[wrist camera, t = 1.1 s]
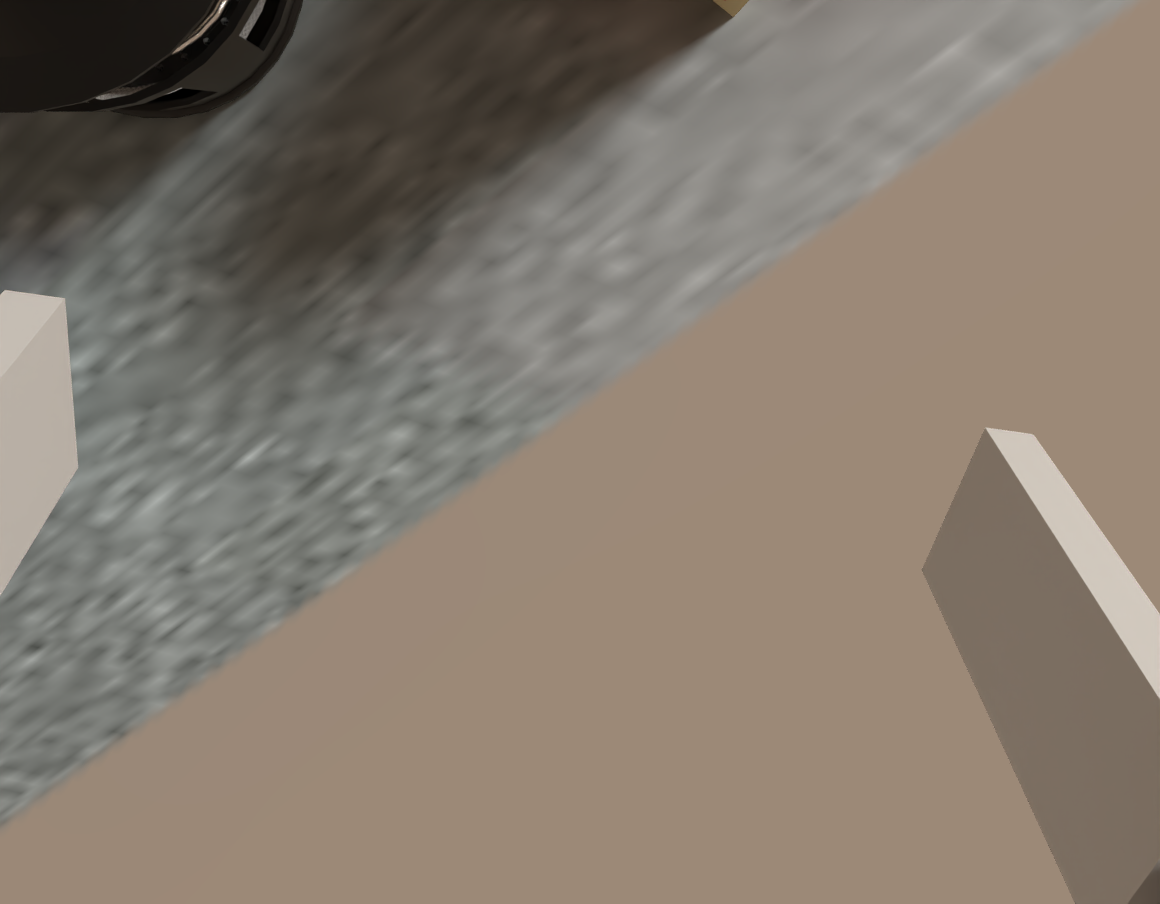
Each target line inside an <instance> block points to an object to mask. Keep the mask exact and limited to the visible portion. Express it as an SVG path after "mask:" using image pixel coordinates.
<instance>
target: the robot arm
mask: <svg viewBox="0 0 1160 904" xmlns="http://www.w3.org/2000/svg"><path fill="white" fill-rule="evenodd" d="M77 468H78V459H77V446H76V433H75V420H74V408H73V395H72V382H71V369H70V356H69V344H68V331H67V318H66V305H65V298H58V297H51V296H44V295H37V294H30V293H23V292H16V291H9V290H4V291H3V292H2V294H1V295H0V596H1V594H2V592H3V591H4V589H5V587H6V586H7V584H8V582H9V581H10V579H11V577H12V576H13V574H14V572H15V571H16V569H17V567H18V566H19V564H20V563H21V561H22V559H23V558H24V556H25V554H26V553H27V551H28V549H29V548H30V546H31V544H32V543H33V541H34V539H35V538H36V536H37V534H38V533H39V531H40V529H41V528H42V526H43V525H44V523H45V521H46V520H47V518H48V516H49V515H50V513H51V511H52V510H53V508H54V506H55V505H56V503H57V501H58V500H59V498H60V496H61V495H62V493H63V491H64V490H65V488H66V487H67V485H68V483H69V482H70V480H71V478H72V477H73V475H74V473H75V472H76V470H77ZM922 572H923V574H924V576H925V578H926V580H927V583H928V585H929V587H930V589H931V591H932V593H933V596H934V598H935V600H936V602H937V604H938V606H939V609H940V611H941V613H942V615H943V617H944V619H945V622H946V624H947V626H948V628H949V630H950V633H951V635H952V637H953V639H954V641H955V643H956V646H957V648H958V650H959V652H960V654H961V656H962V659H963V661H964V663H965V665H966V667H967V670H968V672H969V674H970V676H971V678H972V680H973V682H974V685H975V687H976V689H977V691H978V693H979V695H980V698H981V700H982V702H983V704H984V706H985V709H986V711H987V713H988V715H989V717H990V720H991V722H992V724H993V726H994V728H995V730H996V733H997V735H998V737H999V739H1000V741H1001V743H1002V746H1003V748H1004V750H1005V752H1006V754H1007V756H1008V759H1009V760H1010V763H1011V765H1012V767H1013V769H1014V772H1015V774H1016V776H1017V778H1018V780H1019V783H1020V784H1021V787H1022V789H1023V791H1024V793H1025V796H1026V798H1027V800H1028V802H1029V804H1030V806H1031V809H1032V811H1033V813H1034V815H1035V817H1036V819H1037V822H1038V824H1039V826H1040V828H1041V830H1042V833H1043V835H1044V837H1045V839H1046V841H1047V843H1048V846H1049V848H1050V850H1051V852H1052V854H1053V856H1054V859H1055V861H1056V863H1057V865H1058V867H1059V869H1060V872H1061V874H1062V876H1063V878H1064V880H1065V883H1066V885H1067V887H1068V889H1069V891H1070V893H1071V896H1072V898H1073V900H1074V902H1075V904H1160V614H1159V612H1158V611H1157V610H1156V608H1155V607H1154V605H1153V604H1152V603H1151V601H1150V600H1149V598H1148V597H1147V595H1146V594H1145V593H1144V591H1143V590H1142V588H1141V587H1140V585H1139V584H1138V583H1137V581H1136V580H1135V578H1134V577H1133V575H1132V574H1131V573H1130V571H1129V570H1128V568H1127V567H1126V566H1125V564H1124V563H1123V561H1122V560H1121V558H1120V557H1119V556H1118V554H1117V553H1116V552H1115V550H1114V548H1113V547H1112V546H1111V544H1110V543H1109V541H1108V540H1107V539H1106V537H1105V536H1104V534H1103V533H1102V531H1101V530H1100V529H1099V527H1098V526H1097V524H1096V523H1095V522H1094V520H1093V519H1092V517H1091V516H1090V514H1089V513H1088V512H1087V510H1086V509H1085V507H1084V506H1083V504H1082V503H1081V502H1080V500H1079V499H1078V498H1077V496H1076V494H1075V493H1074V492H1073V490H1072V489H1071V487H1070V486H1069V485H1068V483H1067V482H1066V480H1065V479H1064V477H1063V476H1062V475H1061V473H1060V472H1059V470H1058V469H1057V468H1056V466H1055V465H1054V463H1053V462H1052V460H1051V459H1050V458H1049V456H1048V455H1047V453H1046V452H1045V450H1044V449H1043V448H1042V446H1041V445H1040V443H1039V442H1038V440H1037V439H1036V438H1035V436H1034V435H1033V434H1027V433H1020V432H1013V431H1006V430H999V429H992V428H985V429H984V432H983V434H982V436H981V438H980V441H979V443H978V445H977V447H976V449H975V452H974V454H973V456H972V458H971V461H970V463H969V465H968V467H967V470H966V472H965V474H964V476H963V479H962V481H961V484H960V485H959V488H958V490H957V492H956V494H955V497H954V499H953V501H952V503H951V506H950V508H949V510H948V512H947V515H946V517H945V519H944V521H943V524H942V526H941V528H940V530H939V533H938V535H937V537H936V540H935V541H934V544H933V546H932V548H931V550H930V553H929V555H928V557H927V560H926V562H925V564H924V566H923V568H922Z"/></svg>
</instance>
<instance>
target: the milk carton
mask: <svg viewBox="0 0 1160 904" xmlns="http://www.w3.org/2000/svg"><path fill="white" fill-rule="evenodd" d="M713 1H714V2H715V3H716V4H718V5H719V6H720V7H721V8H723V9H724V10H725V11H726V12H727V13H729V14H730V15H731V16H732V17H734V16H735V15H736V14H737V13H738V12H739V11H740V10H741V9H742V7H743V6H744V5H745V4H746V3H747V2H748V1H749V0H713Z"/></svg>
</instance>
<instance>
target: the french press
mask: <svg viewBox="0 0 1160 904" xmlns="http://www.w3.org/2000/svg"><path fill="white" fill-rule="evenodd" d="M302 3H303V0H0V112H38V111H109V110H110V111H113V112H117V113H123V114H128V115H133V116H138V117H143V118H178V117H183V116H188V115H193V114H198V113H203V112H207V111H210V110H212V109H214V108H217V107H219V106H221V105H224V104H226V103H228V102H230V101H233V100H235V99H236V98H237V97H239V96H240V95H242V94H243V93H244V92H246V91H247V90H249V89H250V88H251V87H253V86H254V85H256V84H257V83H258V82H259V81H260V80H261V79H262V78H263V77H264V76H265V74H266V73H267V72H268V71H269V70H270V69H271V68H272V67H273V66H274V65H275V63H276V62H277V61H278V60H279V58H280V56H281V54H282V53H283V51H284V49H285V47H286V46H287V44H288V42H289V41H290V39H291V37H292V35H293V32H294V29H295V26H296V23H297V20H298V17H299V14H300V11H301V8H302ZM86 102H90V103H86Z"/></svg>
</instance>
